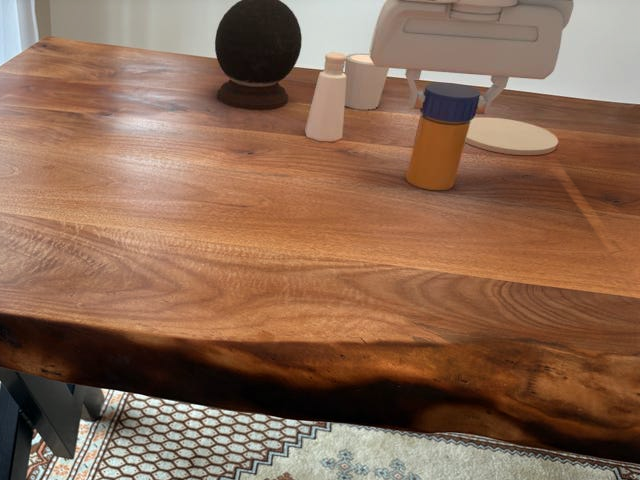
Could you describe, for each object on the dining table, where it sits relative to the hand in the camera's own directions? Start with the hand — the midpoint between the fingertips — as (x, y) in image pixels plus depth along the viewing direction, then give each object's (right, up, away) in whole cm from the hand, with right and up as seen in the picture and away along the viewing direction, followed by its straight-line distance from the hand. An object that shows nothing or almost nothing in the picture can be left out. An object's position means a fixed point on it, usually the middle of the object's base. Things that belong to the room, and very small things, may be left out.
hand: (446, 110), depth 91 cm
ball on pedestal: (-19, +12, +31) cm, 39 cm away
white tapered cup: (-2, +11, +31) cm, 33 cm away
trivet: (+16, +2, +20) cm, 25 cm away
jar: (0, -7, +5) cm, 9 cm away
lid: (0, +2, -1) cm, 2 cm away
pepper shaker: (-11, +2, +18) cm, 21 cm away
